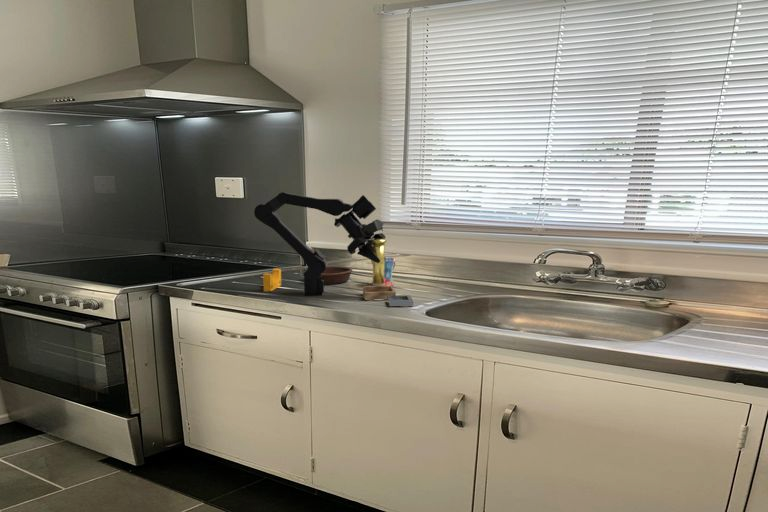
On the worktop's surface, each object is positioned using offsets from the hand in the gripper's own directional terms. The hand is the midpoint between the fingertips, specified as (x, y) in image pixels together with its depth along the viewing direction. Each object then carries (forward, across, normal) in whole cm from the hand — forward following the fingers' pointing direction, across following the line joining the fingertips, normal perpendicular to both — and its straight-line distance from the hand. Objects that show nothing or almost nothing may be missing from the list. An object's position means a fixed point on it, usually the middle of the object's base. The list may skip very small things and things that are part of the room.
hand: (382, 261), depth 177 cm
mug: (+4, +18, +15) cm, 24 cm away
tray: (+8, 0, +10) cm, 13 cm away
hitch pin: (+4, 0, +6) cm, 8 cm away
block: (+16, -6, +2) cm, 17 cm away
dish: (-13, +16, +32) cm, 38 cm away
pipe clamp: (-22, -5, +41) cm, 47 cm away
